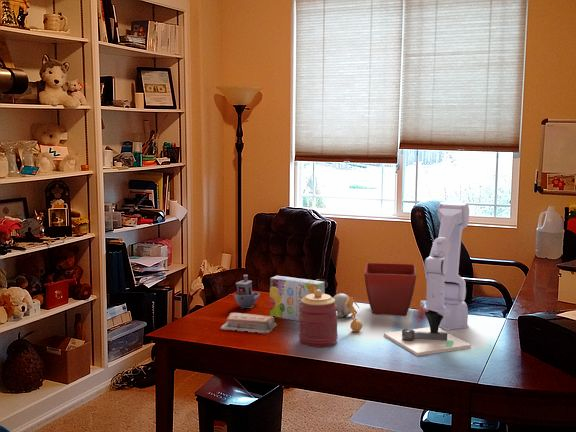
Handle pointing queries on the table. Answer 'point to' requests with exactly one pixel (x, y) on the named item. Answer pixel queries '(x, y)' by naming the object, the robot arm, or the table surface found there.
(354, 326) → the figurine
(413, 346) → the dial board
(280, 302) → the snack box
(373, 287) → the plant pot
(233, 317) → the butter dish
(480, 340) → the table surface
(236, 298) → the toy boat
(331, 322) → the canister
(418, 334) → the lever
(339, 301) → the chubby cartoon animal
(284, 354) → the table surface
